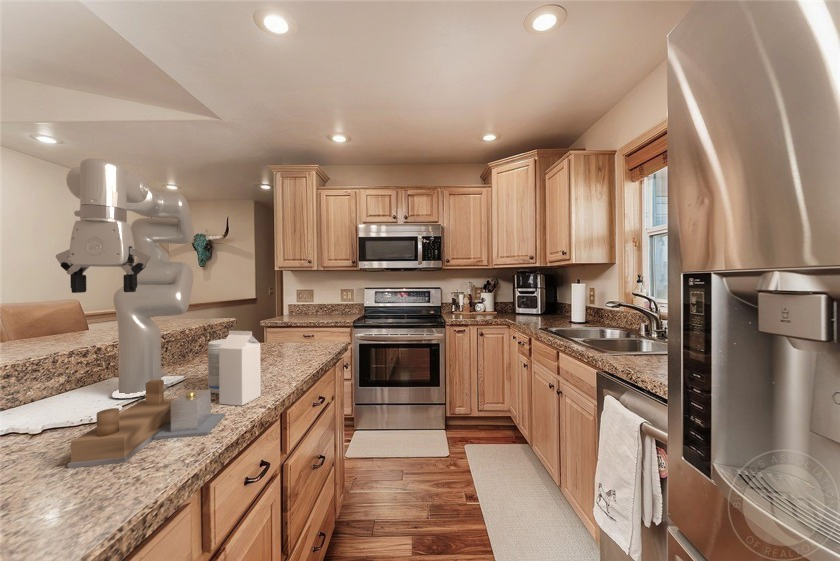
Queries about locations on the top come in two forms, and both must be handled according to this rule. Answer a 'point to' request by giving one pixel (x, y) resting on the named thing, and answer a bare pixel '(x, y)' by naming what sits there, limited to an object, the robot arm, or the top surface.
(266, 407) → the top surface
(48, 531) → the top surface
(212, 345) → the supplement tub
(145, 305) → the robot arm
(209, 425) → the mat
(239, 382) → the milk carton
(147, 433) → the body
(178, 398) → the grey block with knob
